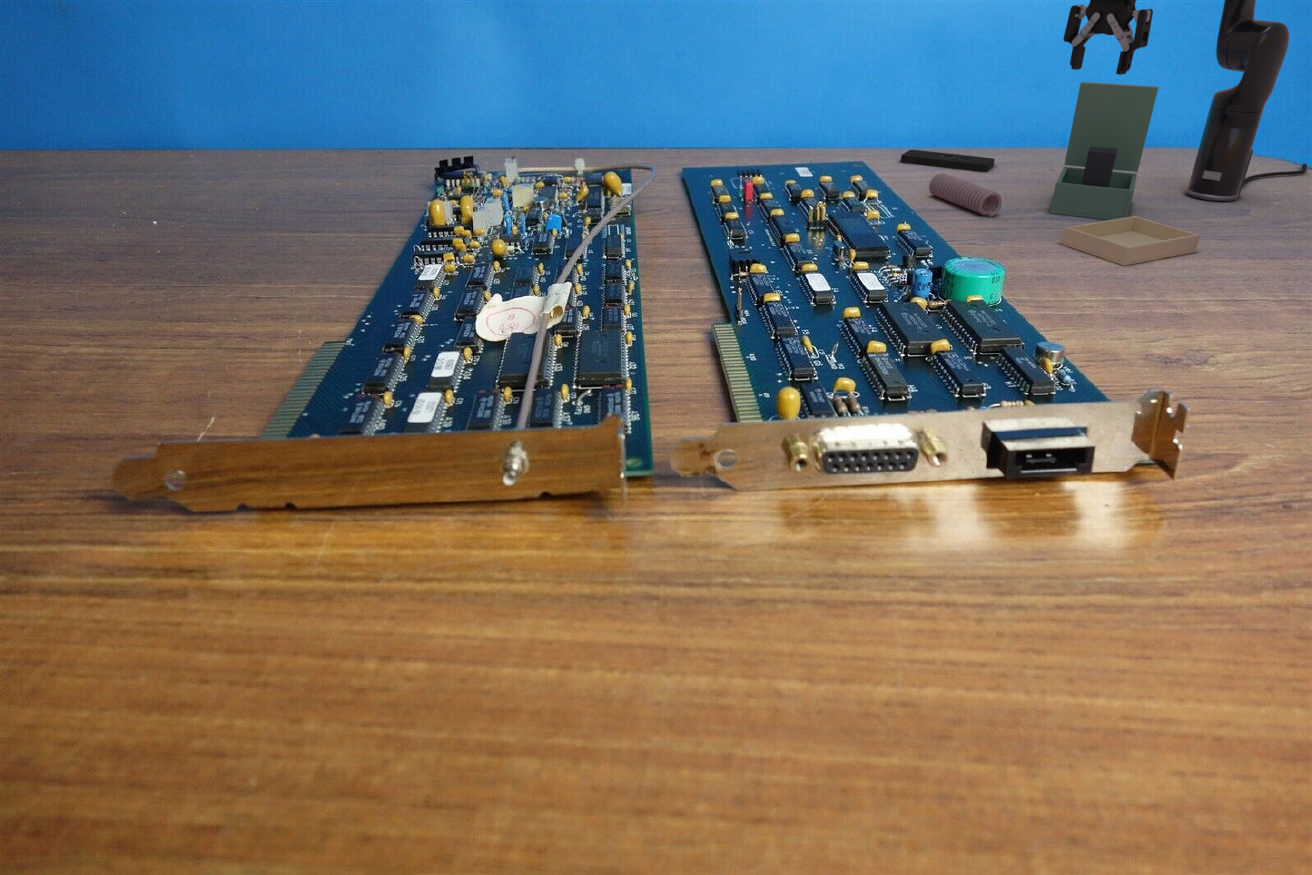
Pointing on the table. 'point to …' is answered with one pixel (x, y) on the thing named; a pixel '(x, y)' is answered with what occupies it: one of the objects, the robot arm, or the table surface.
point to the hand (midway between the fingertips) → (1098, 71)
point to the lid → (1111, 122)
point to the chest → (1093, 195)
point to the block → (1099, 166)
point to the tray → (1130, 240)
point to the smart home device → (948, 160)
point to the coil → (965, 194)
